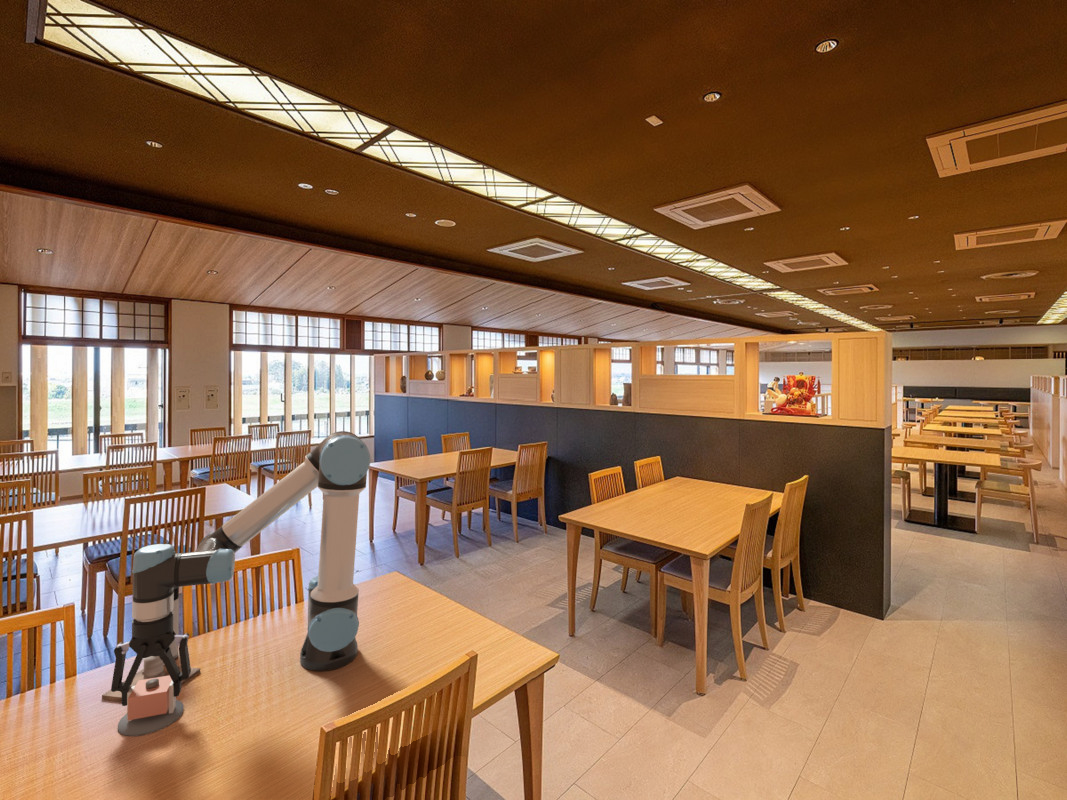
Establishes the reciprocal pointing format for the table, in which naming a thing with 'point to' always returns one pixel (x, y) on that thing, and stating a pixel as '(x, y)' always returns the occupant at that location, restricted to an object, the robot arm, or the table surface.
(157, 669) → the brown wooden stand
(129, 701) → the pink block with knob
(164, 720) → the mat
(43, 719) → the table surface
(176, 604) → the travel mug
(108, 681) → the table surface
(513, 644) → the table surface
